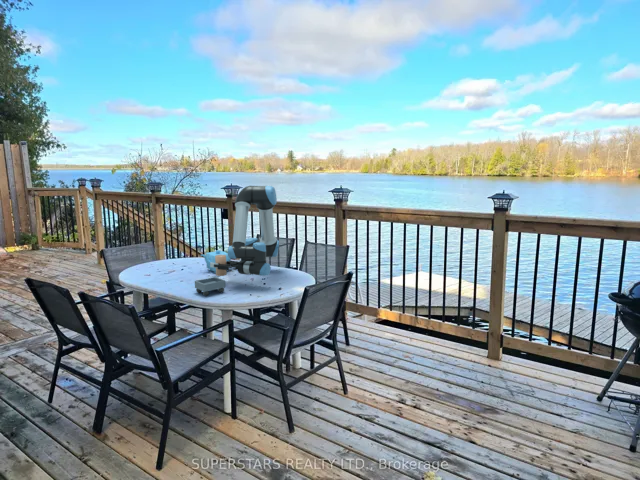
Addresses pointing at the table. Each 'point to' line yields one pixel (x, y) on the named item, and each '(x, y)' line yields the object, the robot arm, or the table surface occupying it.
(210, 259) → the teakettle
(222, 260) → the canister
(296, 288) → the table surface
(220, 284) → the caster cart
